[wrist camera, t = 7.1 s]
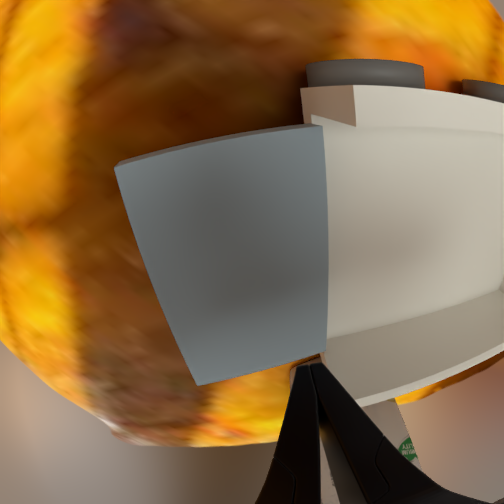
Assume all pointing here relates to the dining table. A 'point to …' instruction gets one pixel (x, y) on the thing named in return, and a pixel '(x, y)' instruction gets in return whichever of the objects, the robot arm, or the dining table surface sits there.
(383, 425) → the juice carton
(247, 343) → the panel
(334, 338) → the cart
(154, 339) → the dining table surface
